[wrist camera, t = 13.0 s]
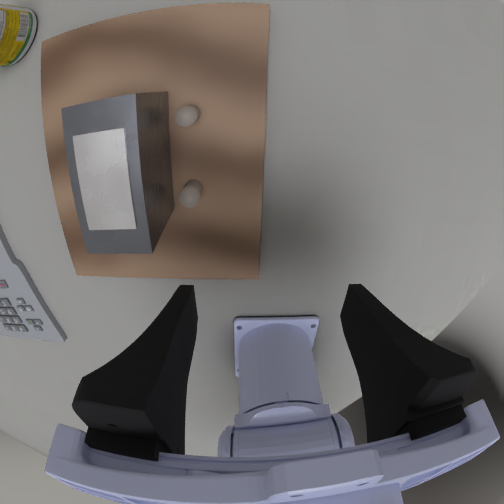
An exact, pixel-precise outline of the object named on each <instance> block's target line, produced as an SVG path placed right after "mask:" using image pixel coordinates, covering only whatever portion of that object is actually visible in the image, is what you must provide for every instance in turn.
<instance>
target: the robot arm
mask: <svg viewBox="0 0 504 504" xmlns="http://www.w3.org/2000/svg"><path fill="white" fill-rule="evenodd" d="M340 317H341V322H342V327H343V332H344V335H345V338H346V341H347V344H348V347H349V350H350V352H351V355H352V358H353V361H354V364H355V367H356V370H357V373H358V376H359V381H360V386H361V391H362V396H363V402H364V409H365V417H366V426H367V444H363V445H358V446H355V444H354V439H353V434H352V431H351V428H350V426H349V424H348V422H347V420H346V419H344V418H343V417H341V416H340V415H339V414H332V415H331V413H330V408H329V404H323V399H322V394H321V390H320V385H319V380H318V376H317V371H316V367H315V362H314V358H313V353H312V347H313V344H314V340H315V336H316V332H317V329H318V325H319V318H318V317H316V316H308V317H271V318H236V319H235V320H234V349H235V376H236V377H239V414H237V415H235V426H228V427H226V429H225V430H224V431H223V432H222V433H221V435H220V438H219V442H218V457H208V456H192V455H185V411H186V394H187V383H188V376H189V371H190V366H191V361H192V356H193V351H194V346H195V341H196V334H197V321H198V316H197V308H196V300H195V292H194V285H180V286H179V287H178V288H177V290H176V292H175V293H174V295H173V296H172V297H171V299H170V300H169V302H168V303H167V305H166V306H165V307H164V308H163V310H162V311H161V312H160V314H159V315H158V316H157V318H156V319H155V320H154V321H153V322H152V323H151V325H150V326H149V327H148V328H147V329H146V330H145V331H144V332H143V333H142V334H141V335H140V336H139V337H138V338H137V339H136V340H135V341H134V342H133V343H132V344H131V345H130V346H129V347H128V348H126V349H125V350H124V351H123V352H122V353H120V354H119V355H118V356H116V357H115V358H114V359H112V360H111V361H109V362H108V363H107V364H105V365H103V366H102V367H100V368H99V369H97V370H95V371H93V372H91V373H90V374H88V375H86V376H84V377H82V379H81V382H80V384H79V386H78V388H77V391H76V394H75V397H74V400H73V403H72V407H73V410H74V411H75V413H76V414H77V415H78V416H79V417H80V418H81V419H82V421H83V422H84V423H85V424H86V425H87V426H88V430H87V433H86V432H84V431H82V430H79V429H76V428H73V427H69V426H66V425H63V424H58V425H57V428H56V431H55V434H54V438H53V441H52V444H51V448H50V451H49V455H48V459H47V463H46V467H45V473H47V474H48V475H50V476H52V477H54V478H55V479H57V480H59V481H61V482H63V483H64V484H66V485H68V486H70V487H72V488H74V489H77V490H80V491H83V492H86V493H88V494H92V495H95V496H98V497H102V498H105V499H108V500H111V501H115V502H118V503H122V504H403V500H402V495H401V491H403V490H406V489H408V488H411V487H413V486H416V485H418V484H421V483H423V482H425V481H428V480H430V479H432V478H434V477H436V476H439V475H441V474H443V473H445V472H447V471H449V470H451V469H453V468H455V467H457V466H459V465H461V464H463V463H465V462H467V461H469V460H470V459H472V458H474V457H475V456H476V455H478V454H479V453H481V452H482V451H484V450H485V449H486V448H488V447H489V446H490V445H492V444H493V443H494V442H496V441H497V440H498V439H499V438H500V436H499V433H498V431H497V429H496V426H495V424H494V422H493V419H492V417H491V415H490V413H489V411H488V408H487V406H486V404H485V402H484V400H480V401H478V402H476V403H473V404H471V405H469V406H467V407H466V408H464V409H463V407H462V405H461V404H463V403H464V399H463V397H462V395H463V394H464V393H465V392H466V390H468V388H469V387H470V386H471V385H472V384H473V382H474V381H475V379H476V377H477V371H476V369H475V367H474V365H473V364H472V362H471V360H470V359H469V358H466V357H463V356H461V355H458V354H456V353H453V352H451V351H449V350H447V349H445V348H443V347H440V346H439V345H436V344H435V343H433V342H432V341H430V340H428V339H427V338H425V337H423V336H422V335H420V334H419V333H417V332H416V331H415V330H413V329H412V328H410V327H409V326H408V325H406V324H405V323H404V322H403V321H401V320H400V319H399V318H398V317H397V316H395V315H394V314H393V313H392V312H391V311H390V310H389V309H387V308H386V307H385V306H384V305H383V304H382V303H381V302H380V301H379V300H378V299H377V298H376V297H375V296H374V295H372V294H371V293H370V292H369V291H368V290H367V289H366V288H365V287H364V286H363V285H361V284H349V287H348V290H347V294H346V298H345V301H344V304H343V308H342V311H341V315H340ZM313 324H314V325H313ZM238 326H241V327H238Z"/></svg>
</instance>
